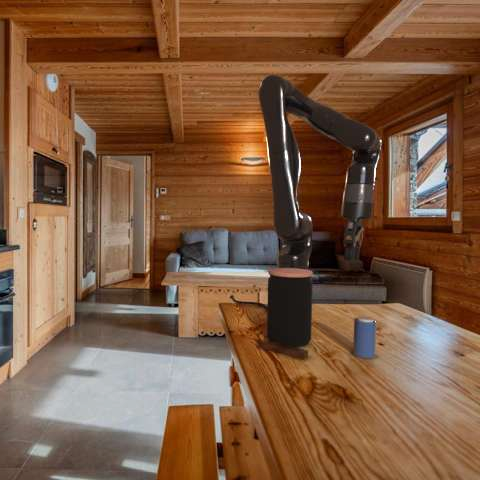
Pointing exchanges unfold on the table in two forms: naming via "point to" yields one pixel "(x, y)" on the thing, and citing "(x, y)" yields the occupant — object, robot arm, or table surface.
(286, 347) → the walnut stick
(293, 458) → the table surface
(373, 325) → the salt shaker
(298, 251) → the robot arm
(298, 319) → the coffee jar
